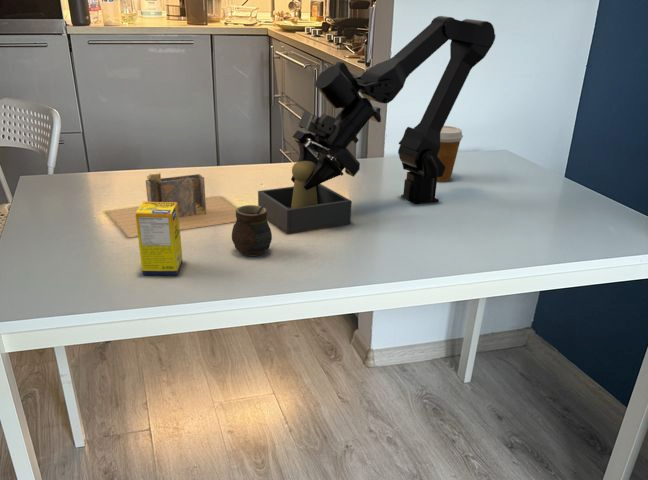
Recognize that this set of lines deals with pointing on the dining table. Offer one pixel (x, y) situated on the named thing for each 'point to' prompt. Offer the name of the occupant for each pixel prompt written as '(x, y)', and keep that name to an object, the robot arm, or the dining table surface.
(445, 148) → the disposable coffee cup
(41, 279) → the dining table surface
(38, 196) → the dining table surface
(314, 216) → the bin
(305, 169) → the tan pawn figure
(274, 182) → the dining table surface
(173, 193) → the architectural model on board
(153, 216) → the supplement box
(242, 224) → the mate gourd
